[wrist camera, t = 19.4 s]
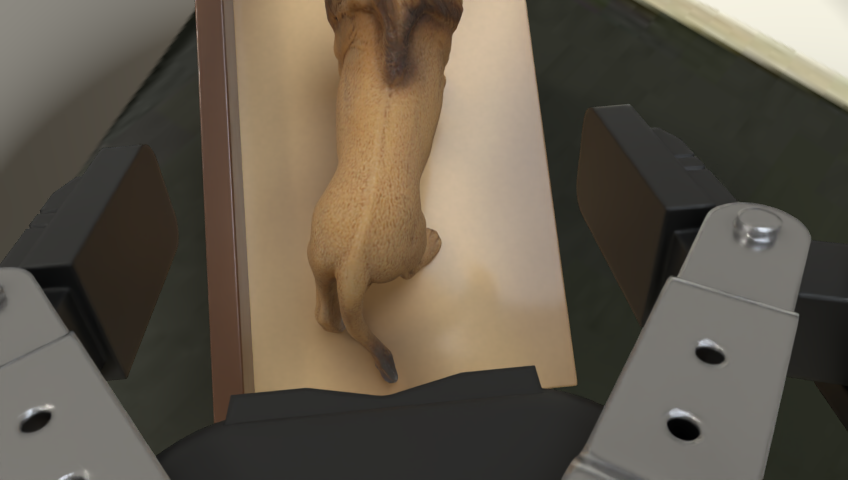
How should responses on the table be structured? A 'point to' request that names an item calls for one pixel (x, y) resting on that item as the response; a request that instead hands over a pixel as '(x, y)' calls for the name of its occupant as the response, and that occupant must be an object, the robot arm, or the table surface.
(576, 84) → the table surface
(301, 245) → the rack
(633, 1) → the table surface
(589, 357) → the table surface
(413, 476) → the robot arm
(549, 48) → the table surface
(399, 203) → the lion figurine
